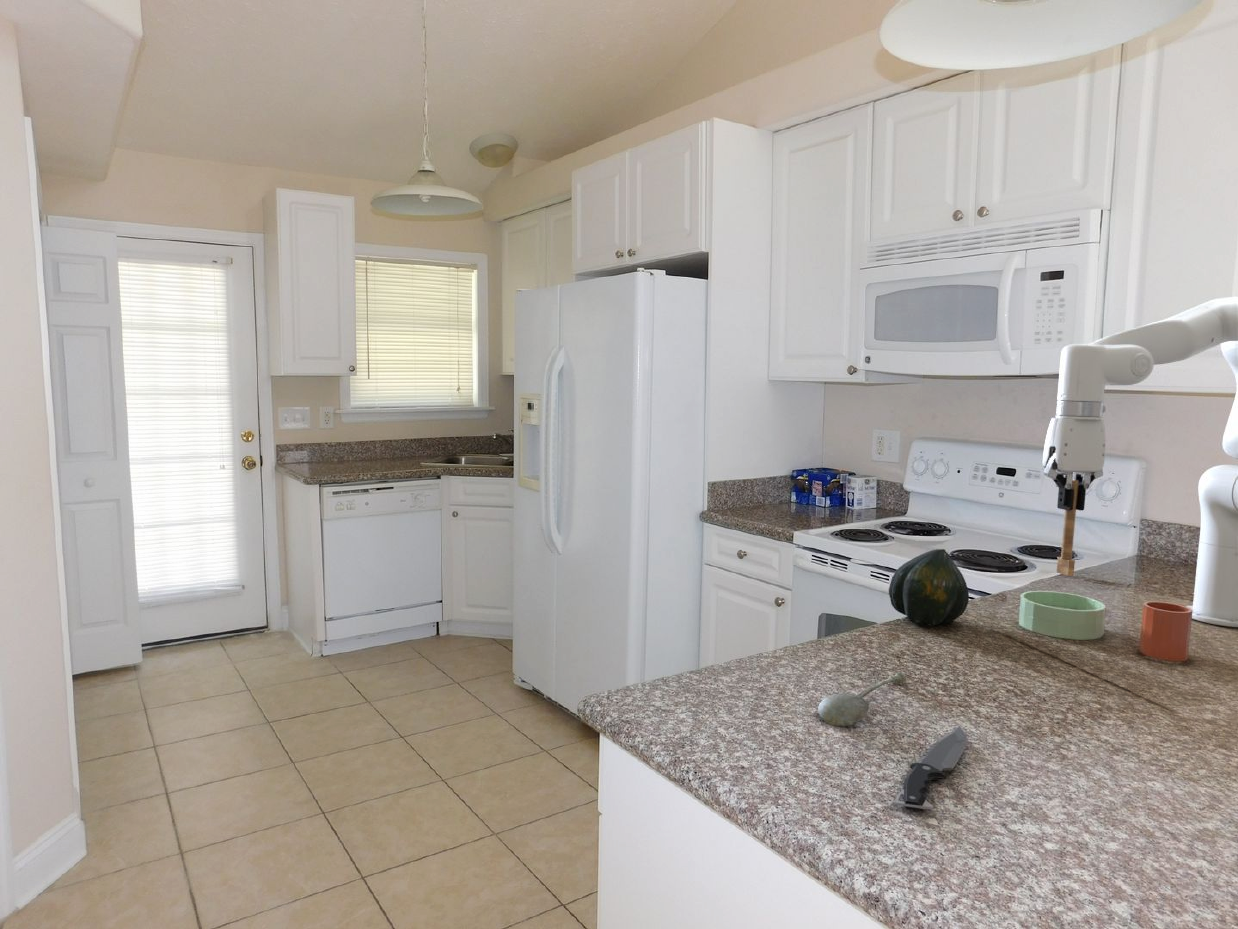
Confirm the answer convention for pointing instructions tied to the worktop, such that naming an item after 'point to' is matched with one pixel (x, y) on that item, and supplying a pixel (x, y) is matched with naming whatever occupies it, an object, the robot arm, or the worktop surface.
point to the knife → (931, 769)
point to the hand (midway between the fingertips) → (1070, 508)
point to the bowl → (1062, 615)
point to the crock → (1165, 631)
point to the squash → (929, 589)
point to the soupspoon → (850, 704)
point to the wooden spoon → (1068, 538)
